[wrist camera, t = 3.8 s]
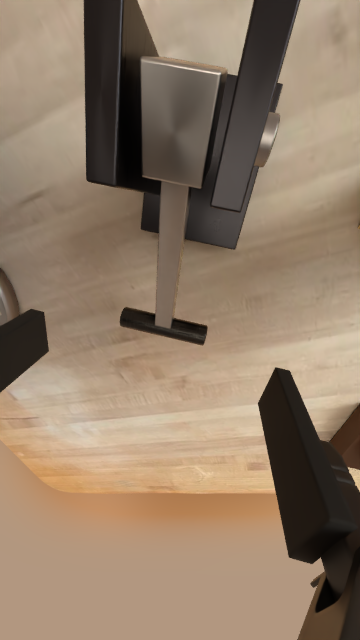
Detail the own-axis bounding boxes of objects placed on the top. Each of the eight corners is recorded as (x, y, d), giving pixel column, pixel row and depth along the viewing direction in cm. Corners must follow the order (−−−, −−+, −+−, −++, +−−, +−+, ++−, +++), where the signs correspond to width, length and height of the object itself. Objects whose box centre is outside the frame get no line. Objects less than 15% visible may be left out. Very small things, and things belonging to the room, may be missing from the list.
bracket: (234, 247, 19) (258, 305, 8) (144, 228, 20) (48, 259, 9) (278, 92, 15) (479, -276, 3) (160, 70, 15) (-8, -327, 4)
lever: (205, 328, 17) (201, 355, 16) (129, 311, 17) (118, 335, 16) (287, 78, 7) (297, 83, 6) (105, 46, 7) (67, 43, 6)
